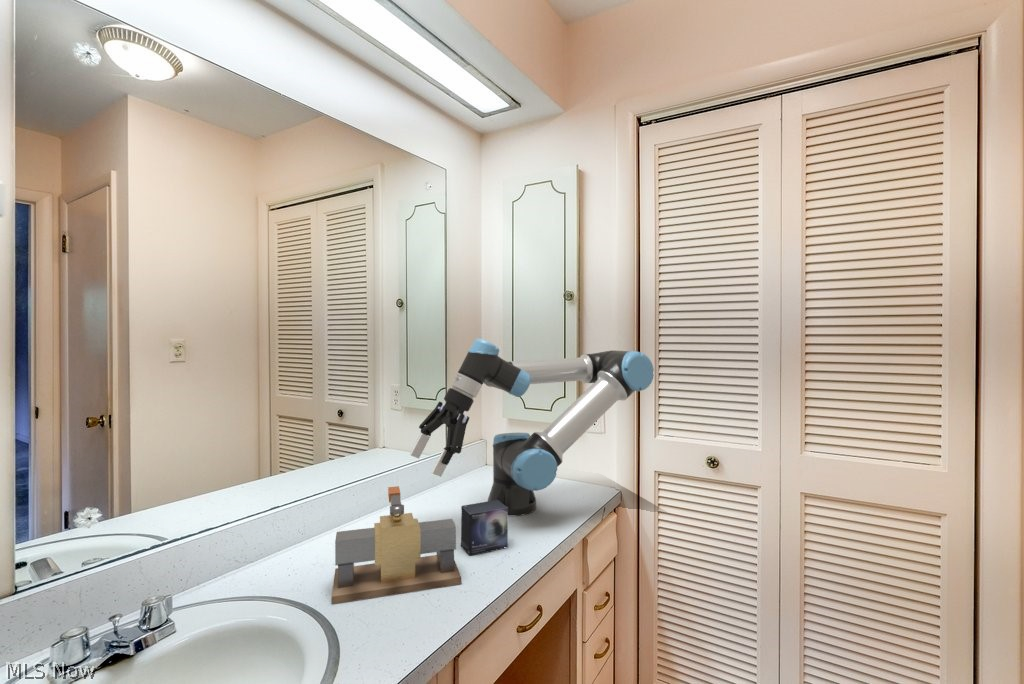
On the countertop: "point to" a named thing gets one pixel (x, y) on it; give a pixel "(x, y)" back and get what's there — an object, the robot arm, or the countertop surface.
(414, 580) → the base board
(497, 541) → the small box
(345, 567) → the valve
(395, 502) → the valve lever
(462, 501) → the countertop surface
